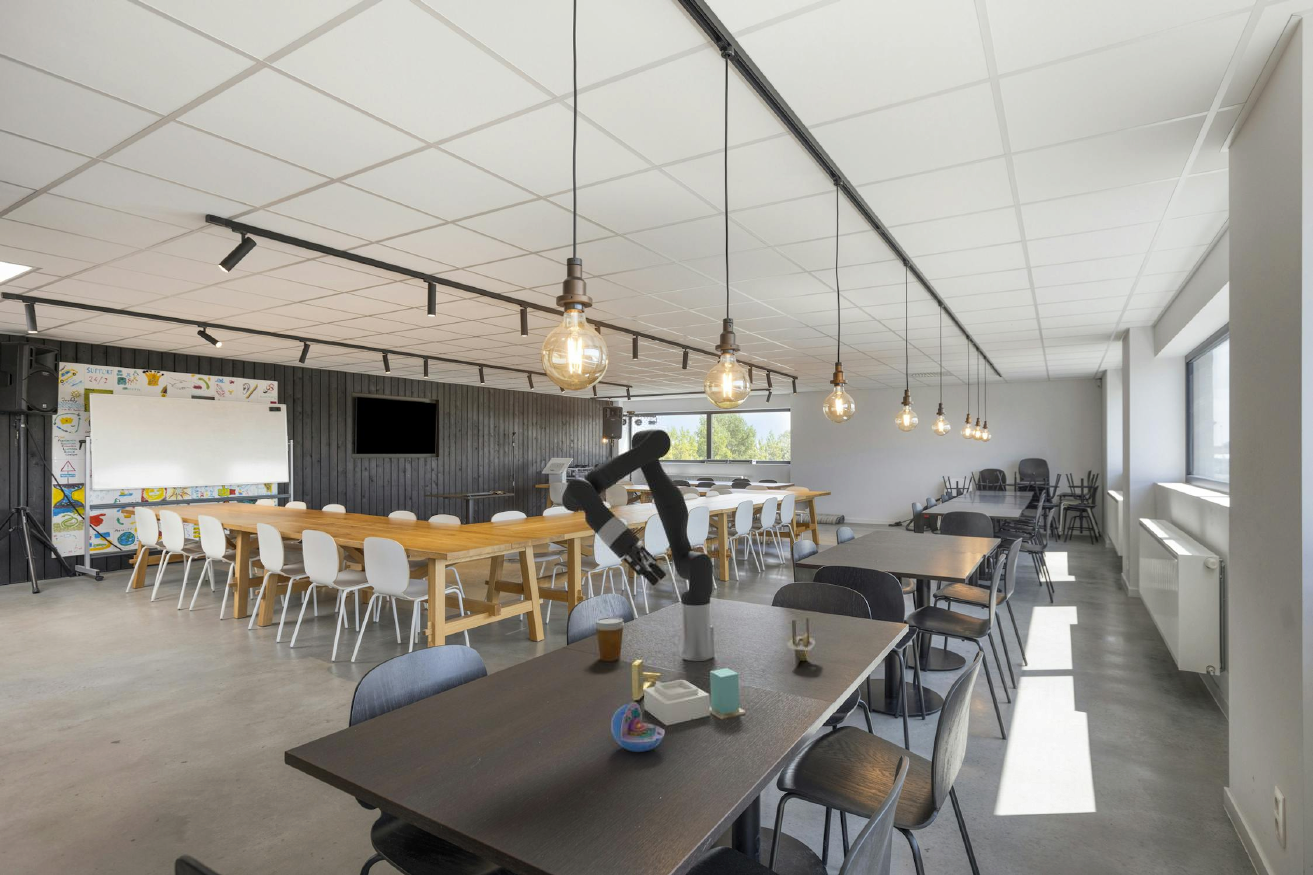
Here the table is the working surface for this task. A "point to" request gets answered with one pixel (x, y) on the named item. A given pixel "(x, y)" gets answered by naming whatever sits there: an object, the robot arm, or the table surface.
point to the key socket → (655, 684)
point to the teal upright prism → (724, 691)
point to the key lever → (641, 679)
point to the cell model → (634, 729)
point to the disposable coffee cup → (609, 637)
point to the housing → (676, 702)
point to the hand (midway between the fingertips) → (660, 580)
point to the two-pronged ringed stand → (794, 643)
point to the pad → (727, 713)
